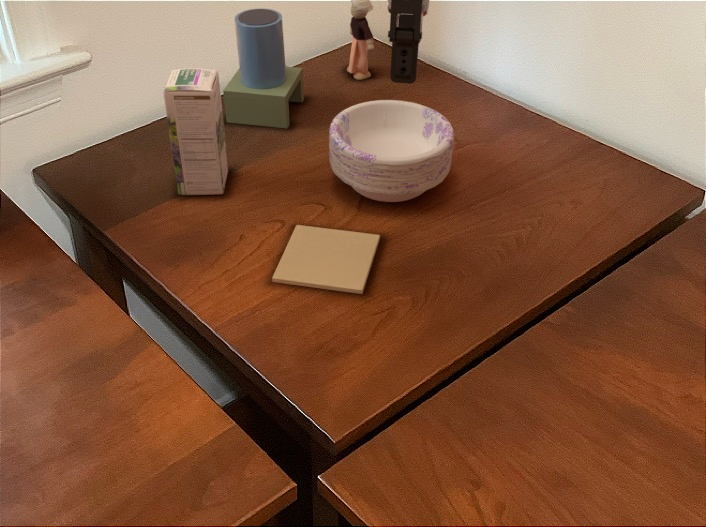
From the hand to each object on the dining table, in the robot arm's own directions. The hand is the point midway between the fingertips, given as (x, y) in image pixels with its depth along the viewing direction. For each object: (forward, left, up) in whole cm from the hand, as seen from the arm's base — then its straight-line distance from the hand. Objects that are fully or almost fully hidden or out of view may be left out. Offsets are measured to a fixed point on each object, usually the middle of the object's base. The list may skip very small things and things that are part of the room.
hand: (406, 61), depth 74 cm
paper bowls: (-4, +18, -25) cm, 31 cm away
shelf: (-25, +33, -25) cm, 48 cm away
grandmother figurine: (-14, +47, -25) cm, 55 cm away
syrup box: (-27, +13, -25) cm, 39 cm away
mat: (-8, +1, -25) cm, 26 cm away
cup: (-25, +33, -20) cm, 46 cm away
